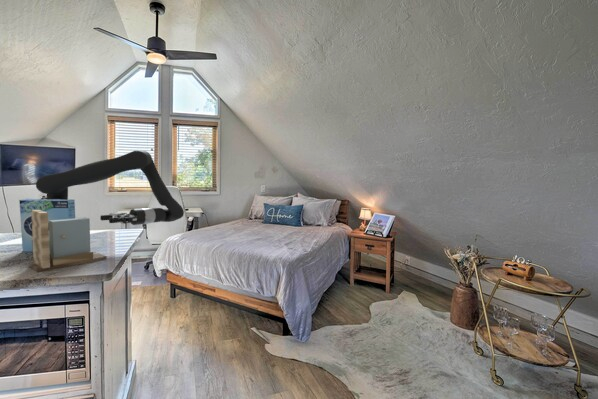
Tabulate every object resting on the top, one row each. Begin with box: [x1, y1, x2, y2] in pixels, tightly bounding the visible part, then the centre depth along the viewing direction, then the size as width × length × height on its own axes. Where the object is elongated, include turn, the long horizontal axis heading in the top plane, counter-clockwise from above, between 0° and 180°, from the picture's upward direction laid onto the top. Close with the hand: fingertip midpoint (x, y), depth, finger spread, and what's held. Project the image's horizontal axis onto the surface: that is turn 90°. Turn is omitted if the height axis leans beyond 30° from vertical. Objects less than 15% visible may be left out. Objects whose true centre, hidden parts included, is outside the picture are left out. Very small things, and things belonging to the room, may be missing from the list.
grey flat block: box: [49, 216, 91, 262], centre depth 118 cm, size 5×12×16 cm, turn 145°
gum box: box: [18, 198, 76, 253], centre depth 133 cm, size 20×5×23 cm, turn 97°
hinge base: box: [28, 210, 108, 273], centre depth 118 cm, size 11×22×21 cm, turn 145°
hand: (105, 219), depth 130 cm, fingers open, 8 cm apart
